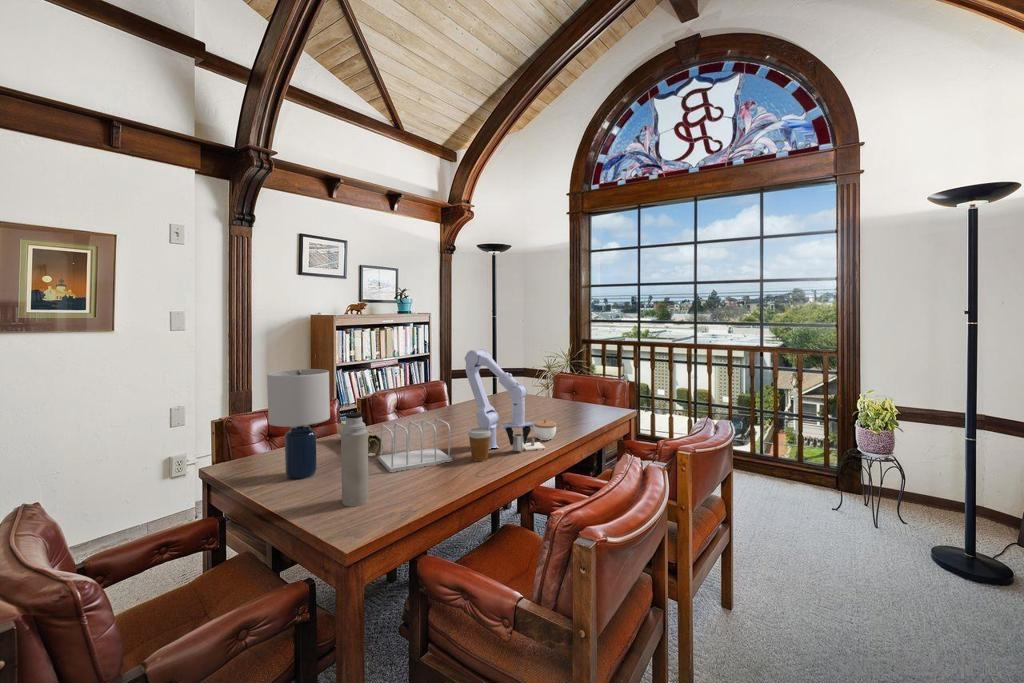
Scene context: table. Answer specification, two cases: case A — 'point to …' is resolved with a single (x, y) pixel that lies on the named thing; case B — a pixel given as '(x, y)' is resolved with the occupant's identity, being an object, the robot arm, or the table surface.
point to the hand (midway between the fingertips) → (517, 444)
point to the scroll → (373, 440)
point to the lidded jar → (545, 429)
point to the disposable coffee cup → (479, 443)
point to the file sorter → (414, 452)
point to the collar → (518, 442)
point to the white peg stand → (533, 445)
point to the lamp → (299, 414)
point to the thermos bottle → (354, 461)
